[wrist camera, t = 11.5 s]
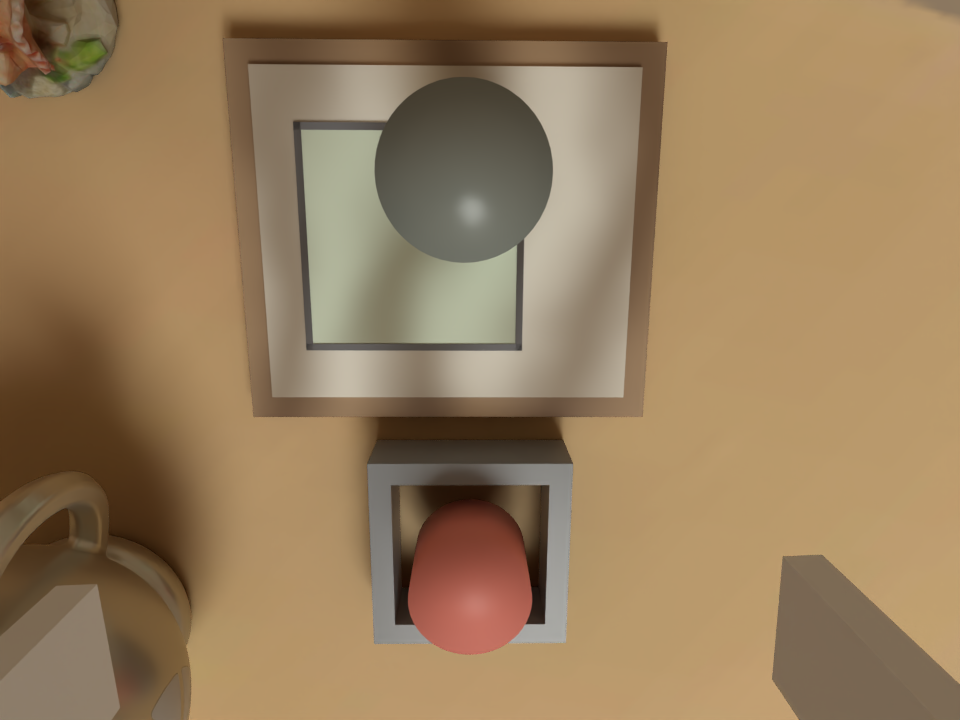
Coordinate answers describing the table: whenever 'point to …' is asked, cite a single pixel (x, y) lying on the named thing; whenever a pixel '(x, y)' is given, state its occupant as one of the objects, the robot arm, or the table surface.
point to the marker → (463, 169)
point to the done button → (470, 578)
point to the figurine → (54, 45)
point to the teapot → (101, 590)
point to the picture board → (425, 279)
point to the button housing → (469, 467)
